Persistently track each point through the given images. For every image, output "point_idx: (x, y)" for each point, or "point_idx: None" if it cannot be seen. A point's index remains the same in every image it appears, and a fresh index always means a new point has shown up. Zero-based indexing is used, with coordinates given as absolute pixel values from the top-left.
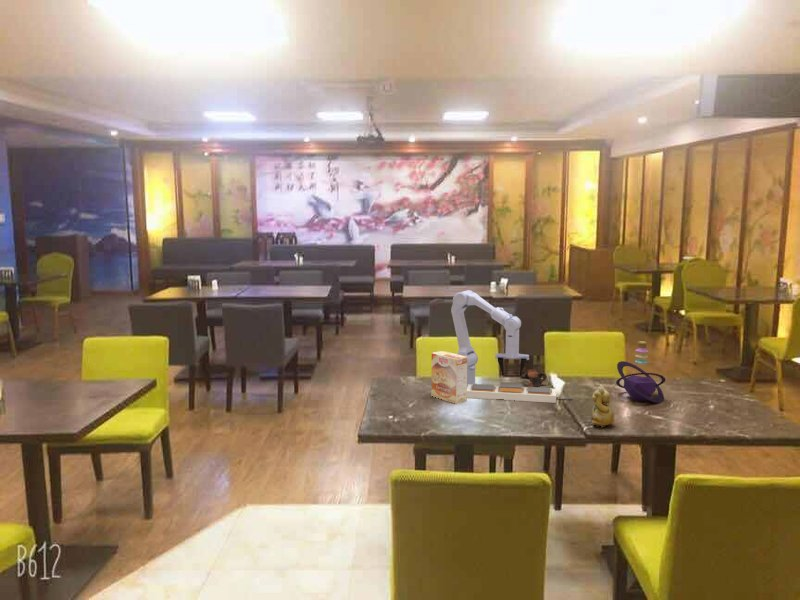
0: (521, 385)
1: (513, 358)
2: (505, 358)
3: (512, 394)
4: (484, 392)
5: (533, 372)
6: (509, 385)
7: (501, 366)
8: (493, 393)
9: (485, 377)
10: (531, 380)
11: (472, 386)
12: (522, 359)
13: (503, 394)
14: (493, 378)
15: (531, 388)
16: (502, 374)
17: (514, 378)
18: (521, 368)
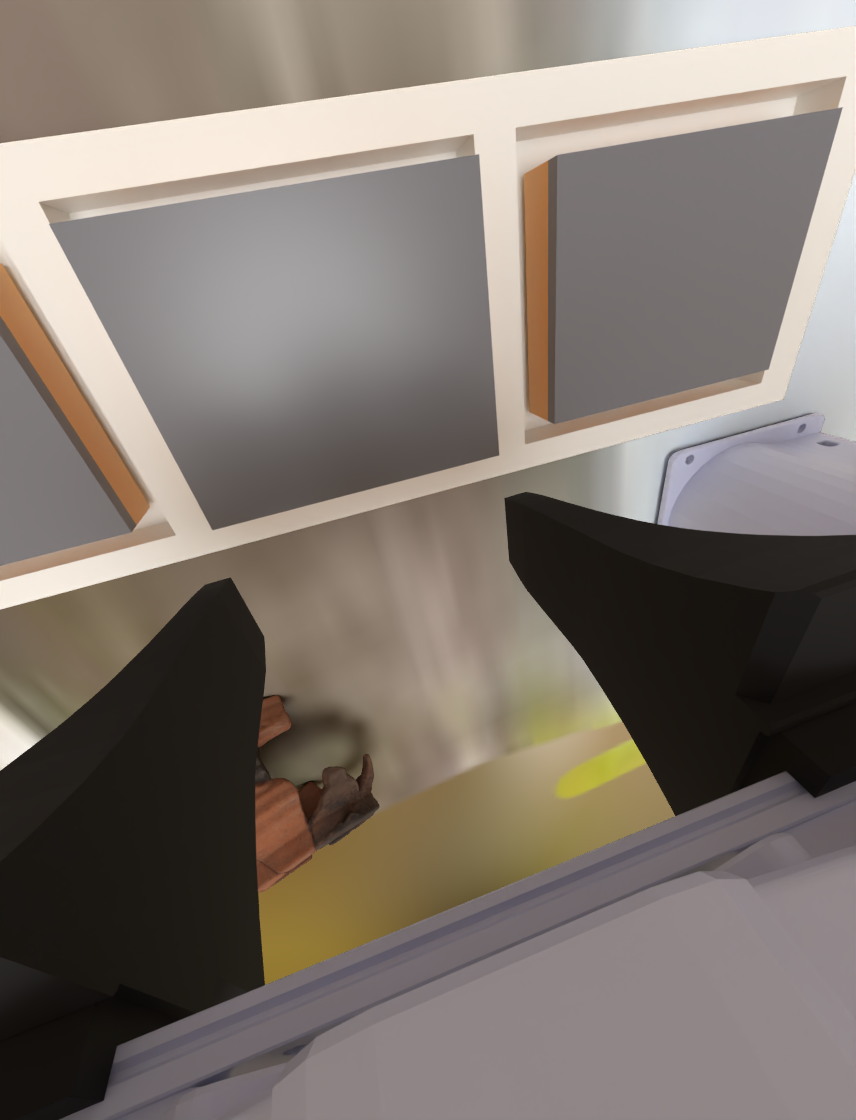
0: (148, 397)
1: (437, 943)
2: (712, 811)
3: (221, 121)
4: (660, 57)
5: (256, 847)
6: (337, 308)
7: (654, 534)
8: (527, 74)
9: (588, 716)
10: (257, 755)
11: (805, 236)
12: (9, 1075)
13: (371, 99)
14: (545, 724)
15: (34, 471)
16: (527, 493)
17: (429, 779)
18: (139, 681)
